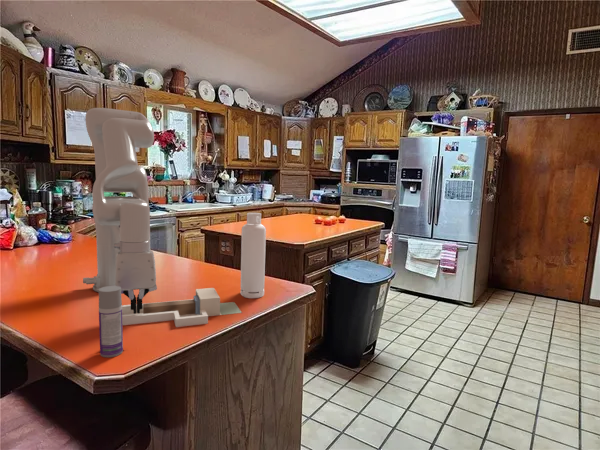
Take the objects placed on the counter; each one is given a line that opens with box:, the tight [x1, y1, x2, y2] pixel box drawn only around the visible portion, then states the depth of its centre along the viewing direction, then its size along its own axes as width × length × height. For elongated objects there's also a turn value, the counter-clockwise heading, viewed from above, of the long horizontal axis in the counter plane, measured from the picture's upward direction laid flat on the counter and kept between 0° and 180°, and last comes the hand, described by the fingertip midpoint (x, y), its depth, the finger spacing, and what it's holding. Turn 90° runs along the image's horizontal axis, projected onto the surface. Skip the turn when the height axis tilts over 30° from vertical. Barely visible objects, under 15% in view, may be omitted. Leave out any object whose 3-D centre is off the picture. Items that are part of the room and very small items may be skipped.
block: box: [193, 294, 200, 314], centre depth 115 cm, size 5×5×4 cm
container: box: [98, 286, 124, 358], centre depth 88 cm, size 5×5×15 cm
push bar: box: [142, 299, 195, 315], centre depth 112 cm, size 14×3×3 cm, turn 112°
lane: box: [122, 287, 243, 328], centre depth 111 cm, size 33×15×6 cm, turn 113°
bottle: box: [239, 212, 267, 299], centre depth 132 cm, size 8×8×28 cm
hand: (136, 311), depth 108 cm, fingers closed
